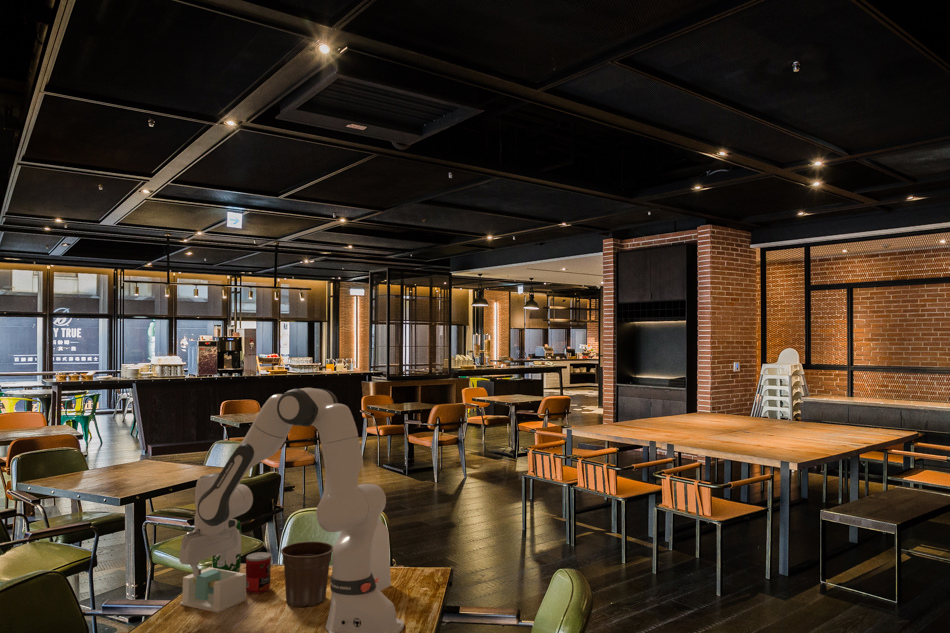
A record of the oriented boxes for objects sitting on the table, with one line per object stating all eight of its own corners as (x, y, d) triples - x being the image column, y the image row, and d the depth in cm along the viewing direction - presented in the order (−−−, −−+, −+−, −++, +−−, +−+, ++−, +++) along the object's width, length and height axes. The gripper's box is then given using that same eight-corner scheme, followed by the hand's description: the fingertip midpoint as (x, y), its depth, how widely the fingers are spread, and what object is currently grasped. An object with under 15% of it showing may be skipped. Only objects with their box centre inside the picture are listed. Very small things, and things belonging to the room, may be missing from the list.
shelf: (245, 599, 202) (246, 573, 203) (217, 612, 192) (218, 585, 192) (208, 592, 209) (209, 567, 209) (179, 604, 198) (180, 578, 199)
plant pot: (342, 594, 207) (342, 543, 208) (315, 613, 192) (316, 558, 193) (298, 588, 212) (299, 539, 213) (269, 606, 197) (270, 553, 198)
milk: (390, 585, 215) (391, 507, 217) (370, 596, 205) (370, 514, 207) (362, 579, 221) (363, 503, 222) (340, 590, 210) (341, 510, 212)
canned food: (262, 594, 207) (263, 559, 207) (240, 592, 208) (241, 558, 209) (274, 586, 214) (275, 552, 215) (253, 584, 216) (253, 551, 216)
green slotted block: (220, 593, 200) (220, 571, 201) (204, 600, 195) (205, 577, 195) (210, 591, 202) (211, 569, 202) (195, 598, 197) (196, 575, 197)
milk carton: (239, 584, 215) (240, 524, 217) (210, 587, 213) (211, 526, 214) (241, 576, 224) (242, 518, 225) (213, 578, 221) (215, 520, 223)
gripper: (190, 535, 189) (189, 582, 188) (241, 519, 208) (240, 562, 207) (174, 533, 191) (174, 580, 191) (226, 517, 210) (226, 560, 209)
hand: (209, 570), depth 199 cm, fingers open, 8 cm apart
